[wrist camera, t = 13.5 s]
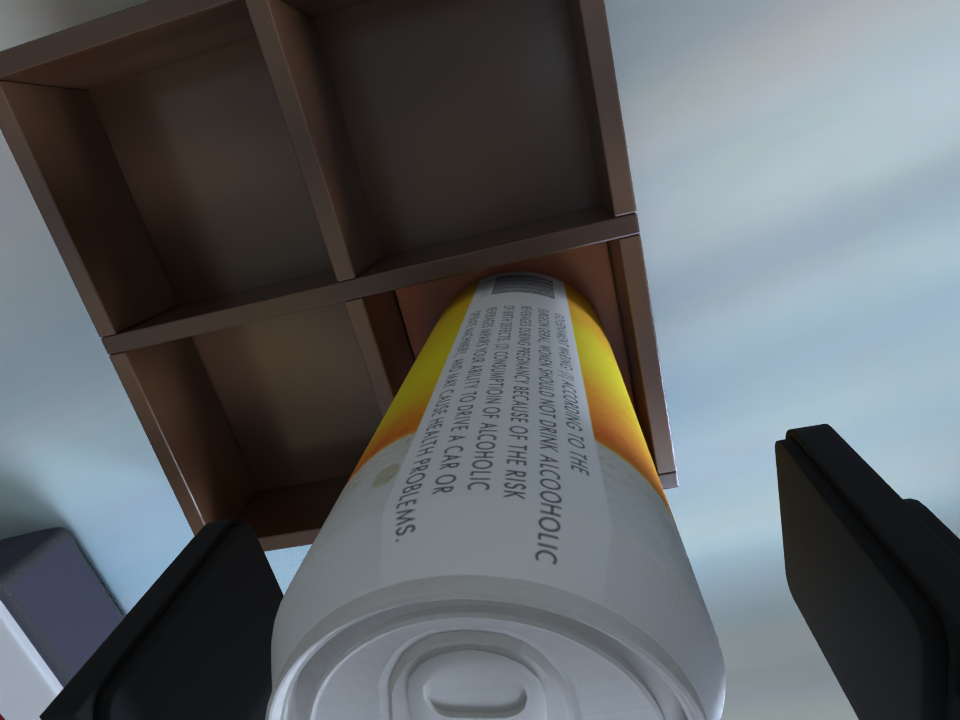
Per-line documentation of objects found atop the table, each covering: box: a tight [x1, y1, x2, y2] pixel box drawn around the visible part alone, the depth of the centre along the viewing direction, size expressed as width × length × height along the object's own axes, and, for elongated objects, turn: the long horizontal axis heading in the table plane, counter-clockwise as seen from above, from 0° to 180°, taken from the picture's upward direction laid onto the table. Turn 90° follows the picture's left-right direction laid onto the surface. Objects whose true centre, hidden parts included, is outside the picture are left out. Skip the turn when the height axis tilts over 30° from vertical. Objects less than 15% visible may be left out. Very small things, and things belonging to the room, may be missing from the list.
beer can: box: [265, 271, 726, 720], centre depth 14 cm, size 6×6×15 cm
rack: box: [0, 0, 679, 551], centre depth 19 cm, size 17×17×4 cm
